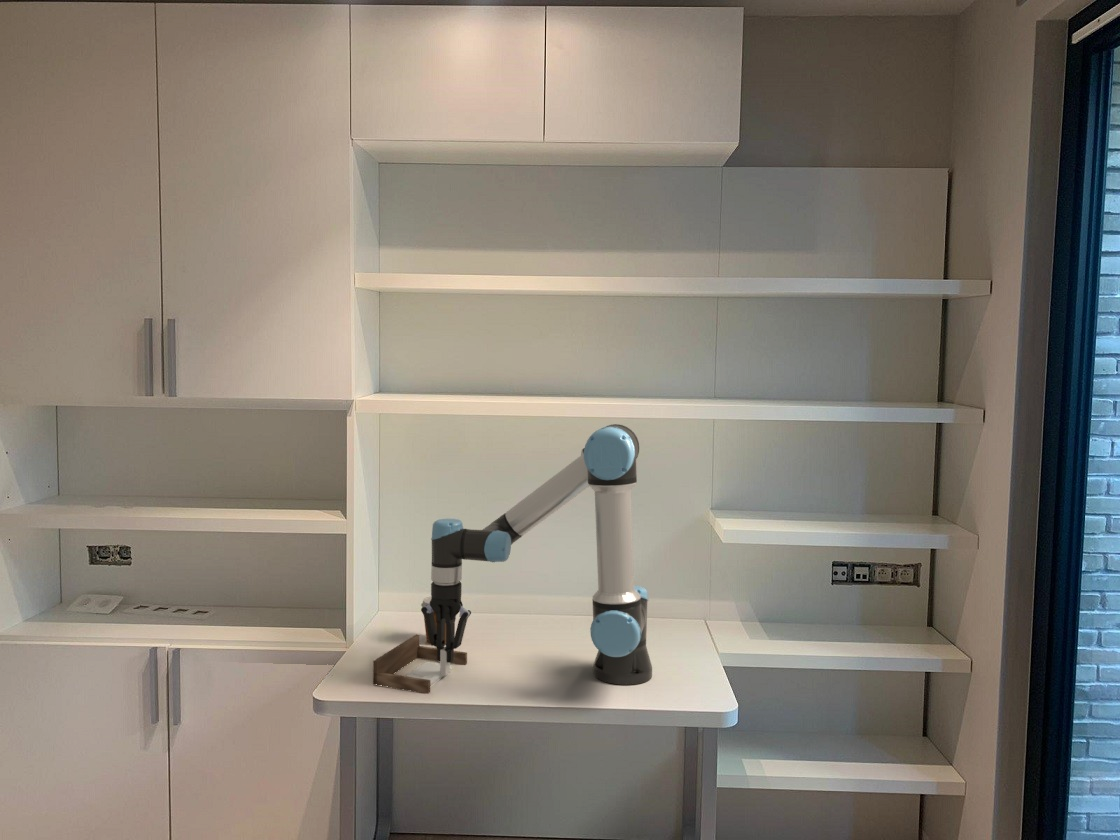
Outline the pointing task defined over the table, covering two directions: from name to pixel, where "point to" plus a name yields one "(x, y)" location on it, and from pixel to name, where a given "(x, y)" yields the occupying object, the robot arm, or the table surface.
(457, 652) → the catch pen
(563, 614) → the table surface
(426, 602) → the disposable coffee cup
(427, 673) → the external hard drive
